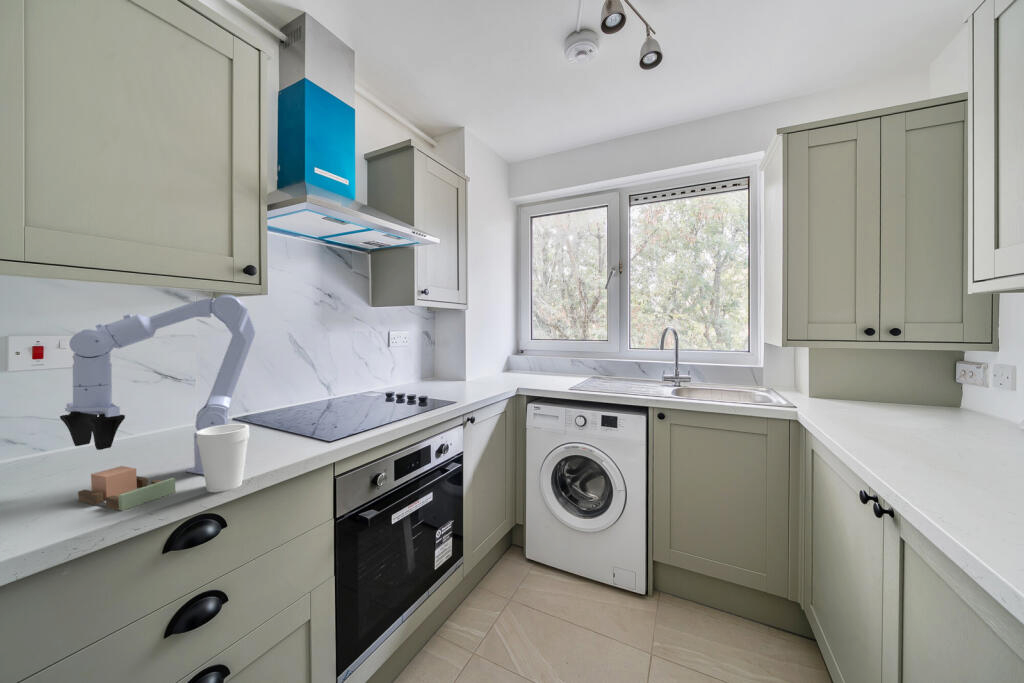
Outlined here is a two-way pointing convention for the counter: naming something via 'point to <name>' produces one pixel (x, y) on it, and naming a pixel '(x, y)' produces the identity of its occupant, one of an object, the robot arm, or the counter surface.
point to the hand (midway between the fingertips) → (92, 446)
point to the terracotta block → (114, 481)
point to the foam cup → (223, 455)
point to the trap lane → (130, 494)
